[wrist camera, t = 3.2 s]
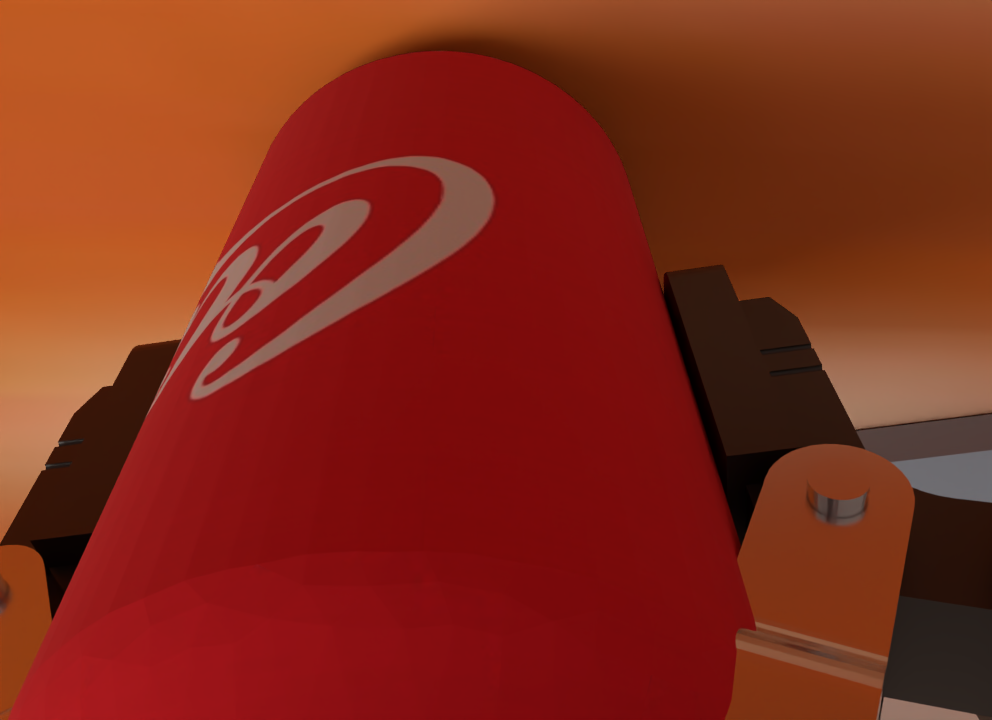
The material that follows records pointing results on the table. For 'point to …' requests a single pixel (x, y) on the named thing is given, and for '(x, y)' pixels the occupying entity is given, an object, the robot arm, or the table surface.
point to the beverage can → (416, 442)
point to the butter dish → (937, 492)
